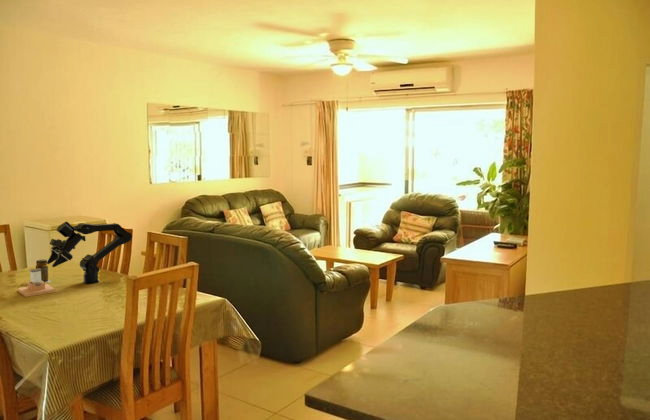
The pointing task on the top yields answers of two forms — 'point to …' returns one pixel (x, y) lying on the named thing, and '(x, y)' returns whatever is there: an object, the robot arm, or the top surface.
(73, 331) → the top surface
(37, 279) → the column
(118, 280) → the top surface
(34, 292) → the stand
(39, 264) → the condiment
